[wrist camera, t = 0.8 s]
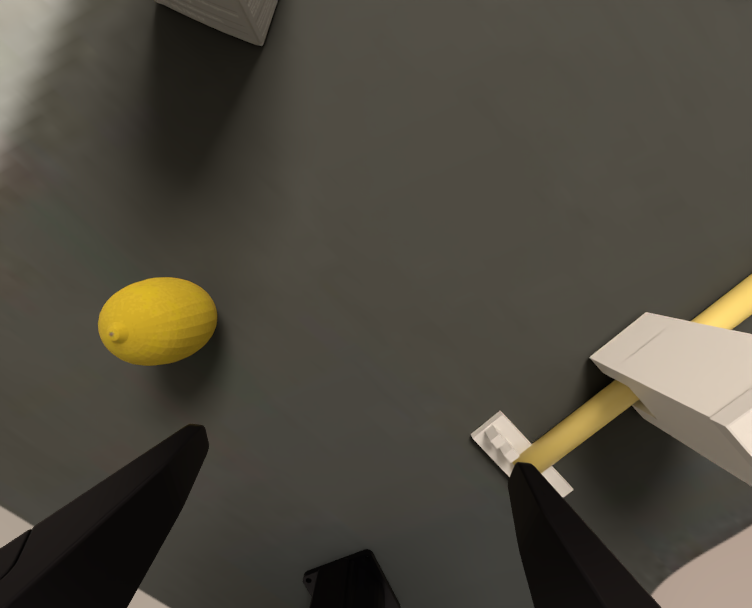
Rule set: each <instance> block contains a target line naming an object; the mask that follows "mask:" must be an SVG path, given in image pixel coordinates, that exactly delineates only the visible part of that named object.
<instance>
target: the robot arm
mask: <svg viewBox="0 0 752 608" xmlns="http://www.w3.org/2000/svg"><path fill="white" fill-rule="evenodd" d="M208 449H209V442H208V438H207V434H206V430H205V427H204V426H203V425H198V424H189V425H186V426H185V427H183V428H182V429H180V430H179V431H177V432H176V433H174V434H173V435H171V436H170V437H168V438H167V439H165V440H164V441H162V442H161V443H159V444H158V445H156V446H155V447H153V448H152V449H150V450H149V451H147V452H146V453H144V454H143V455H141V456H139V457H138V458H136V459H135V460H133V461H132V462H130V463H129V464H127V465H126V466H124V467H123V468H121V469H120V470H118V471H117V472H115V473H114V474H112V475H111V476H109V477H108V478H106V479H105V480H103V481H102V482H100V483H99V484H97V485H96V486H94V487H93V488H91V489H90V490H88V491H87V492H85V493H84V494H82V495H81V496H79V497H78V498H76V499H75V500H73V501H72V502H70V503H69V504H67V505H66V506H64V507H62V508H61V509H59V510H58V511H56V512H55V513H53V514H52V515H50V516H49V517H47V518H46V519H44V520H43V521H41V522H40V523H38V524H37V525H35V526H34V527H33V529H30V530H28V531H26V532H25V533H23V534H22V535H20V536H19V537H17V538H15V539H14V540H12V541H11V542H9V543H8V544H6V545H5V546H3V547H2V548H0V608H127V607H128V605H129V603H130V602H131V600H132V598H133V596H134V594H135V593H136V591H137V589H138V587H139V585H140V584H141V582H142V580H143V578H144V577H145V575H146V573H147V571H148V569H149V568H150V566H151V564H152V562H153V560H154V559H155V557H156V555H157V553H158V551H159V550H160V548H161V546H162V544H163V543H164V541H165V539H166V537H167V535H168V534H169V532H170V530H171V528H172V526H173V525H174V523H175V521H176V519H177V518H178V516H179V514H180V512H181V510H182V508H183V506H184V504H185V502H186V500H187V498H188V495H189V493H190V491H191V489H192V486H193V484H194V482H195V480H196V477H197V475H198V473H199V471H200V468H201V466H202V464H203V462H204V459H205V457H206V455H207V452H208ZM508 490H509V496H510V502H511V507H512V513H513V519H514V525H515V531H516V536H517V542H518V547H519V551H520V555H521V559H522V563H523V567H524V571H525V574H526V578H527V582H528V585H529V589H530V593H531V596H532V600H533V604H534V607H535V608H661V607H660V605H659V604H658V603H657V602H656V601H655V600H654V599H653V598H652V596H651V595H650V594H649V593H648V592H647V591H646V590H645V589H644V588H643V586H642V585H641V584H640V583H639V582H638V581H637V580H636V579H635V578H634V576H633V575H632V574H631V573H630V572H629V571H628V570H627V569H626V568H625V566H624V565H623V564H622V563H621V562H620V561H619V560H618V559H617V557H616V556H615V555H614V554H613V553H612V552H611V551H610V550H609V549H608V547H607V546H606V545H605V544H604V543H603V542H602V541H601V540H600V539H599V537H598V536H597V535H596V534H595V533H594V532H593V531H592V530H591V529H590V527H589V526H588V525H587V524H586V523H585V522H584V521H583V520H582V518H581V517H580V516H579V515H578V514H577V513H576V512H575V511H574V510H573V508H572V507H571V506H570V505H569V504H568V503H567V502H566V501H565V500H564V498H563V497H562V496H561V495H560V494H559V493H558V492H557V491H556V490H555V488H554V487H553V486H552V485H551V484H550V483H549V482H548V481H547V479H546V478H545V477H544V476H543V475H542V474H541V473H540V472H539V471H538V469H537V468H536V467H535V466H534V465H532V464H531V463H525V462H517V463H515V465H514V468H513V470H512V473H511V475H510V477H509V480H508ZM366 556H368V557H366ZM303 583H304V584H305V586H306V588H307V590H308V591H309V593H310V595H311V597H312V599H311V603H310V608H400V604H399V602H398V600H397V598H396V596H395V594H394V592H393V590H392V588H391V586H390V585H389V583H388V581H387V579H386V577H385V575H384V573H383V571H382V569H381V567H380V565H379V564H378V562H377V560H376V558H375V556H374V554H373V552H372V551H371V550H368V549H366V550H363V551H360V552H357V553H355V554H352V555H349V556H347V557H344V558H341V559H339V560H336V561H333V562H331V563H328V564H325V565H323V566H320V567H317V568H315V569H312V570H309V571H307V572H305V574H304V577H303Z"/></svg>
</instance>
